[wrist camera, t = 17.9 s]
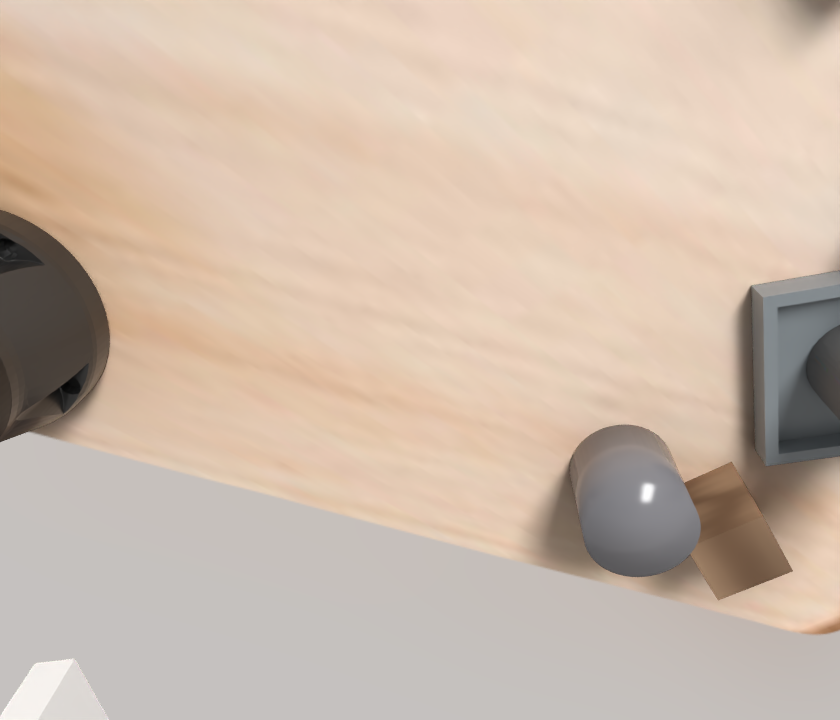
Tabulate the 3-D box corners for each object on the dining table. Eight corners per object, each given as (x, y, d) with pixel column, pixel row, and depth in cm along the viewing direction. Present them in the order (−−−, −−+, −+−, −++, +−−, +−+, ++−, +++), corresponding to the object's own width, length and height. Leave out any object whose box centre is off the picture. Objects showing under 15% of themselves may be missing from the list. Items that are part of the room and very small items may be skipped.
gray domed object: (576, 514, 53) (590, 583, 47) (563, 433, 50) (576, 494, 44) (675, 501, 52) (703, 569, 46) (668, 417, 49) (697, 477, 43)
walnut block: (692, 540, 53) (717, 600, 48) (663, 491, 52) (686, 547, 46) (759, 512, 52) (792, 571, 47) (731, 461, 50) (763, 516, 45)
